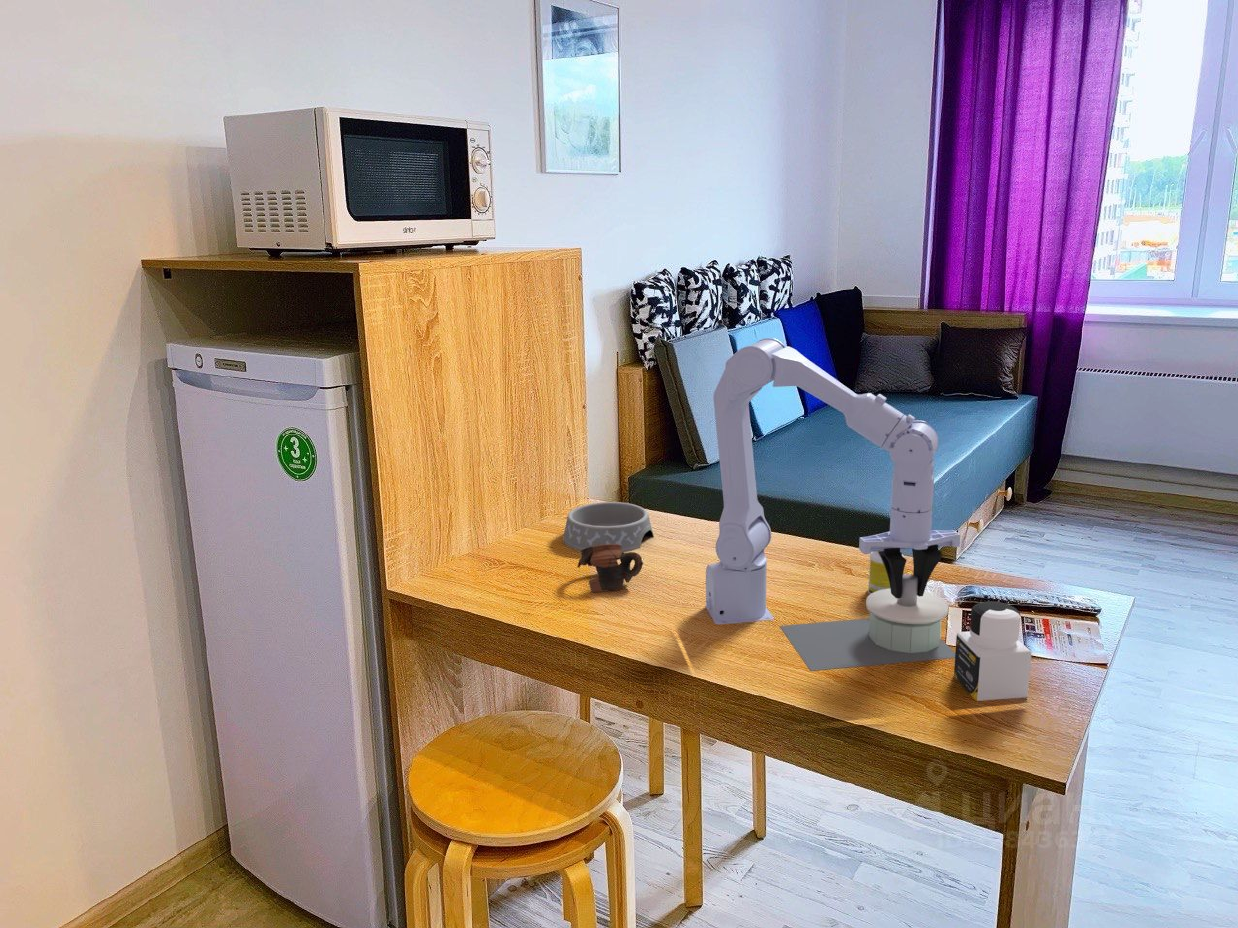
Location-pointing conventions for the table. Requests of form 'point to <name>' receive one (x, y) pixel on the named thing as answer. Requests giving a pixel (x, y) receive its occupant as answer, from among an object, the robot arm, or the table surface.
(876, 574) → the supplement bottle
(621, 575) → the pottery mug
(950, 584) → the table surface
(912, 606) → the lid
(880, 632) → the bowl
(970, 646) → the medicine bottle
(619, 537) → the dog bowl
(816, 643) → the mat
